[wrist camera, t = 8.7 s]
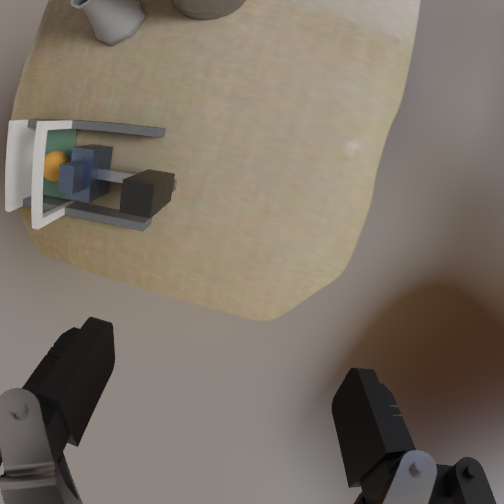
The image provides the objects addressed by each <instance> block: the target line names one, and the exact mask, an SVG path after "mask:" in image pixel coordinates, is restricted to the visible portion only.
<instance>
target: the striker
mask: <svg viewBox="0 0 504 504" xmlns="http://www.w3.org/2000/svg"><path fill="white" fill-rule="evenodd" d="M112 149H113V147H111V146H102V145H86V146H79V147H72V156H71V162H68V163H63V164H60V170H59V185H58V192H60V193H66V194H69V195H68V199H73V200H79V201H84V202H91V201H93V200H95V199H97V198H99V197H101V196H103V195H105V194H107V192H108V182H109V181H112V182H118V183H122V191H121V201H120V213H125V214H130V215H135V216H140V217H145V218H151V217H153V216H154V215H155V214H156V213H157V212H158V211H159V210H161V209H162V208H163V207H164V206H165V205H166V204H168V203H169V202H170V201H171V195H172V192H174V191H175V190H176V184H177V180H176V179H174V176H175V174H173V173H168V172H162V171H156V170H150V169H148V170H146V171H143V172H140V173H135V172H128V171H122V170H115V169H110V164H111V157H112Z"/></svg>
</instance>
